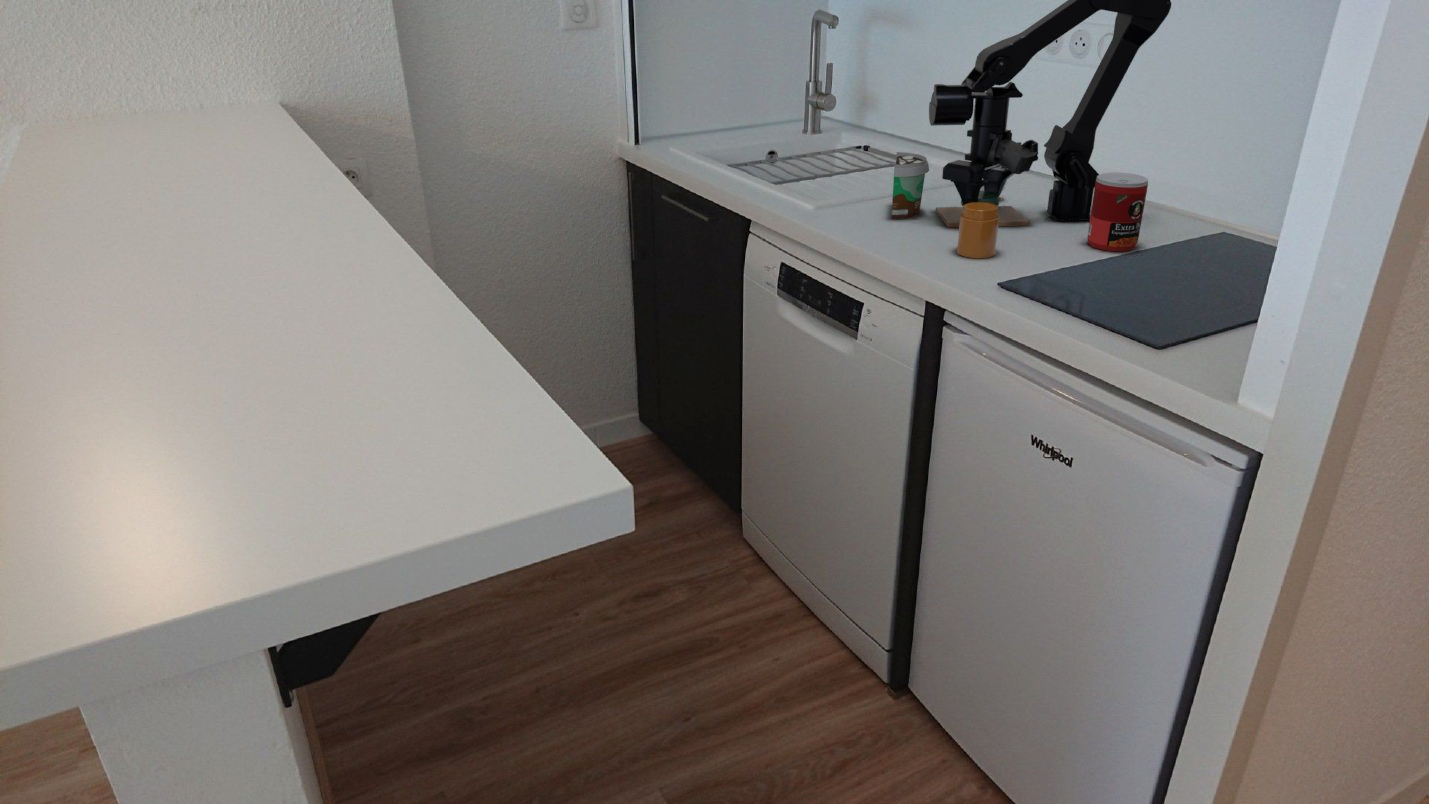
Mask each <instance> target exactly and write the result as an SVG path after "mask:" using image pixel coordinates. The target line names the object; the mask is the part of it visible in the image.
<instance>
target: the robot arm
mask: <svg viewBox="0 0 1429 804" xmlns="http://www.w3.org/2000/svg"><path fill="white" fill-rule="evenodd" d="M1171 9H1172V2H1171V0H1066V1H1064V2H1063V3H1062V4H1060V5H1059V6H1057V7H1056V8H1054V9H1053V10H1052V11H1050V12H1048V14H1046V15H1045V16H1043V17H1042V18H1040V19H1039V20H1037V21H1036V22H1034V23H1033V24H1031V25H1030V26H1029V27H1027V28H1026V29H1024V30H1022V31H1021V32H1019V33H1018V34H1015V35H1013V36H1010V37H1007V38H1004V39H1002V40H999V41H997V42H996V43H993V44H991V45H989V46H987V47H985V48H983V49H982V50H981V51H979V53H978V55H977V56H976V59H975V63H974V67H973V68H972V69H971V71H970V72H969V73H968V75H967V76H965V78H964V80H962V82H961V83H960V84H944V83H936V84H934V85H933V92H932V93H931V98H930V101H929V104H928V121H929V125H930V126H934V127H935V126H964V125H965V124H966V123H967V122H969V121H970V120H971V119H972V118H973V119H972V128H971V129H967V131H966V137H970V138H971V140H970V148H969V149H970V150H969V152H967V153H965V154H964V160H963V159H957V160H953V161H951V162H947V163H946V164H945V165H944V166H943V167H942V177H941V179H942V180H945V181H950V182H951V183H953V184H954V186H955V189H956V191H957V193H958V195H959V198H960V201H961V200H962V202H963V205H965V204H968V203H974V202H978V197H979V192H980V189H981V187H983V186H984V191H989V192H994V193H997V194H999V197H1000V196H1001V195H1000V193H1001V191H1002V189H1003V186H1004V184H1005V182H1006V180H1007V181H1008V180H1009V179H1010V178H1011V177H1013V176H1015V175H1021V174H1022V173H1025V172H1029V171H1030V169H1031V168H1032V165H1033V163H1034V162H1037V161H1039V156H1038V155H1039V142H1037V141H1036V140H1034V139H1029V140H1026V141H1024V142H1023V143H1022V142H1020V141H1018V142H1016V141H1014V140H1013V132H1012V130H1011V129H1007V128H1008V117H1009V107H1010V99H1017V98H1019V99H1020V98H1023V96H1024V94H1023V93H1022V92H1021V91H1020V90H1019V88H1017V85H1016V82H1013V81H1012V80H1013V79H1014V78H1015V77H1016V76H1017V75H1019V73H1020V72H1021V71H1023V69H1024V68H1025V67H1026V66H1027V65H1028V64H1029V62H1031V60H1032V59H1033V58H1034V57H1035V56H1036V55H1037V54H1038V53H1039V52H1040V51H1042V50H1043V49H1045V48H1046V47H1048V46H1049V45H1050V44H1052V43H1053V42H1055V41H1057V40H1058V39H1059V38H1061V37H1062V36H1064V35H1066V34H1067V33H1068V32H1070V31H1071V30H1072V29H1074V28H1076V27H1077V26H1078V25H1080V24H1081V23H1083V22H1084V21H1086V20H1087V19H1089V18H1090V17H1092V16H1093V15H1094V14H1096V13H1097V12H1099V11H1101V10H1102V11H1106V12H1112V13H1117V14H1116V16H1115V20H1114V26H1113V27H1114V28H1113V34H1112V39H1111V41H1110V43H1109V45H1108V46H1107V49H1106V51H1105V53H1104V55H1103V57H1102V59H1101V60H1100V63H1099V65H1098V66H1097V69H1095V70H1096V71H1095V72H1094V74H1093V77H1092V78H1091V80H1090V82H1089V83H1088V86H1087V87H1086V90H1085V91H1084V93H1083V96H1082V97H1081V99H1080V101H1079V103H1078V105H1077V107H1076V109H1075V111H1074V113H1073V115H1072V116H1071V118H1070V119H1069V120H1068V121H1067V123H1065V125H1064V126H1059V124H1055V125H1054V126H1053V128H1052V131H1051V134H1050V136H1049V139H1048V140H1047V142H1045V143H1044V144H1043V147H1044V148H1045V151H1044V154H1043V158H1044V161H1045V164H1046V165H1047V167H1048V168H1049V169H1051V171H1052V175H1053V178H1054V179H1056V180H1053V185H1052V188H1050V190H1049V191H1048V201H1047V207H1046V208H1047V209H1046V210H1045V211H1046V213H1047V214H1048V215H1049V216H1050V217H1052V219H1054V220H1055V221H1058V222H1063V221H1064V222H1065V221H1067V222H1068V221H1070V222H1071V221H1090V216H1091V210H1092V203H1093V196H1094V189H1095V184H1096V179H1097V176H1098V175H1100V173H1099V172H1098V171H1097V170H1096V169H1095V168H1094V167H1093V166H1092V165H1091V163H1090V160H1091V157H1092V154H1093V152H1094V148H1095V141H1096V133H1097V129H1098V127H1099V125H1100V123H1101V121H1102V119H1103V117H1104V116H1105V114H1106V112H1107V110H1108V108H1109V106H1110V104H1111V102H1112V100H1113V98H1114V97H1115V95H1116V93H1117V91H1118V89H1119V88H1120V85H1121V84H1122V82H1123V80H1124V77H1125V75H1126V74H1127V72H1128V70H1129V68H1130V66H1131V64H1132V63H1133V61H1134V58H1135V57H1136V55H1137V53H1138V51H1139V50H1140V48H1141V47H1142V46H1143V45H1144V44H1145V43H1146V42H1147V41H1148V40H1149V39H1151V37H1152V36H1153V35H1154V34H1155V33H1156V32H1157V30H1158V29H1159V28H1160V27H1161V25H1162V24H1163V23H1164V21H1165V20H1166V18H1167V17H1168V15H1169V14H1170V11H1171ZM982 179H983V180H982ZM1002 192H1003V191H1002ZM1001 194H1002V193H1001Z"/></svg>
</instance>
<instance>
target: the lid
mask: <svg viewBox="0 0 1429 804" xmlns="http://www.w3.org/2000/svg"><path fill="white" fill-rule="evenodd" d="M978 202H983V203H990V204H994V205H996V206H997V207H998V206H1000V196H999V194H997V193H994V192H989V191H980V192H979V197H978ZM960 205H961V207H963V206H964V205H963V202H962V200H961V199H960Z"/></svg>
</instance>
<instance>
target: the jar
mask: <svg viewBox="0 0 1429 804" xmlns="http://www.w3.org/2000/svg"><path fill="white" fill-rule="evenodd" d="M962 207H963V214H961V215H960V224H959V227H958V236H957V245H956V253H957V254H958V255H960V256H962V257H965V258H970V259H987V258H992V257H994V256H995V255H996V253H997V252H996V250H997V242H998V233H999V226H998V224H999V216H998V215H997V213H998V210H997V209H998V207H997V206H996V205H994V204H990V203H983V202H974V203H968V204H965V205H964V206H962Z"/></svg>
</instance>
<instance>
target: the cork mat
mask: <svg viewBox="0 0 1429 804" xmlns="http://www.w3.org/2000/svg"><path fill="white" fill-rule="evenodd" d="M997 210H998V213H997V215H998V216H999V224H998V227H1028V226H1029V221H1028V220H1027V219H1026V218H1025V217H1024V216H1023V215H1022V214H1021V213H1020V212H1019V211H1018V210H1016V209H1015V208H1014V207H1013V206H1012V205H998V209H997ZM935 213H936V215H938V216H939V219H941V221H943V223H944V224H945V226H946V227H947V228H959V224H960V215H961V214H963V206H945V207H944V206H942V207H940V206H939V207H935Z"/></svg>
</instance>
